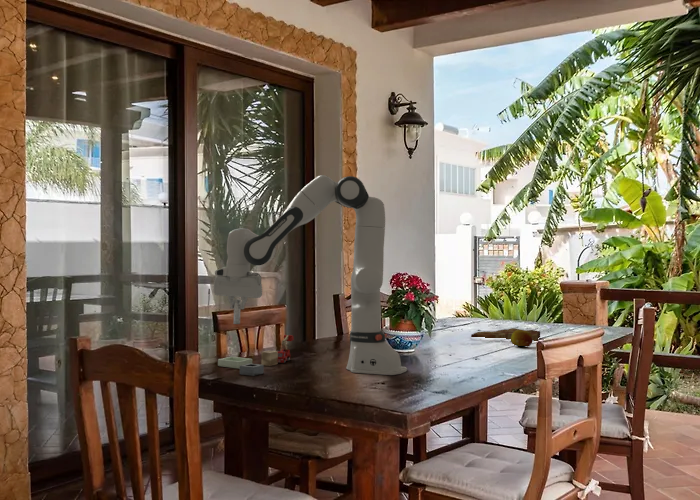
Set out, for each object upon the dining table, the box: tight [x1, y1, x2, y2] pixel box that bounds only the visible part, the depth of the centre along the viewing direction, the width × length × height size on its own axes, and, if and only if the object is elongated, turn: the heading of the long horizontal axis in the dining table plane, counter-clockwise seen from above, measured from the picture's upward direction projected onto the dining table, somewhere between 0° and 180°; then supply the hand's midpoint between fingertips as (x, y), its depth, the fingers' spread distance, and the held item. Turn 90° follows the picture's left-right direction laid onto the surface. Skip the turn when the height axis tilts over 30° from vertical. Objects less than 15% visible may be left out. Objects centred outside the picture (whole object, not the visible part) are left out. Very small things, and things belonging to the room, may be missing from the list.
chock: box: [260, 349, 279, 367], centre depth 268 cm, size 4×5×5 cm
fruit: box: [510, 329, 533, 347], centre depth 322 cm, size 10×9×8 cm
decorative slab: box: [470, 327, 541, 342], centre depth 352 cm, size 32×22×5 cm
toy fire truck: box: [277, 334, 295, 364], centre depth 278 cm, size 3×14×10 cm, turn 168°
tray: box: [217, 356, 253, 370], centre depth 264 cm, size 10×8×2 cm
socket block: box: [239, 363, 265, 377], centre depth 248 cm, size 6×6×3 cm
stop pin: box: [233, 298, 242, 325], centre depth 261 cm, size 2×2×9 cm
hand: (237, 308), depth 261 cm, fingers closed on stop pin, 2 cm apart
